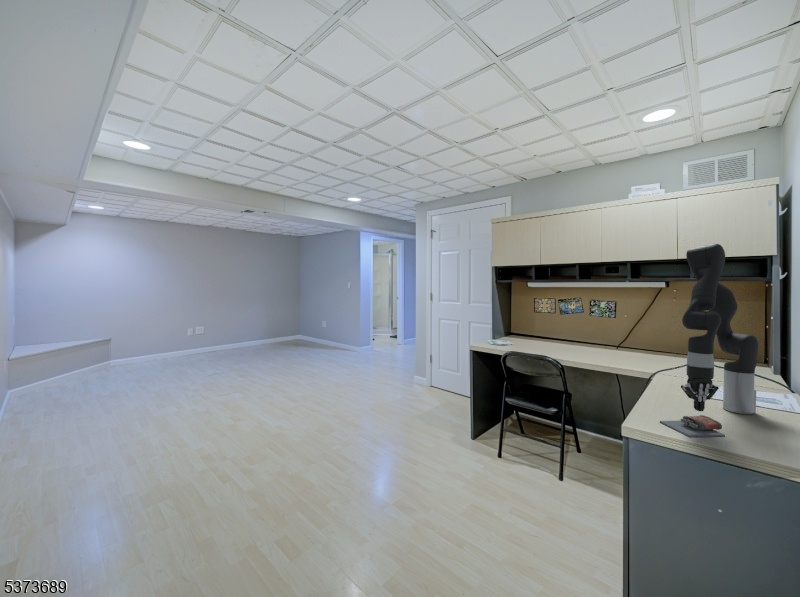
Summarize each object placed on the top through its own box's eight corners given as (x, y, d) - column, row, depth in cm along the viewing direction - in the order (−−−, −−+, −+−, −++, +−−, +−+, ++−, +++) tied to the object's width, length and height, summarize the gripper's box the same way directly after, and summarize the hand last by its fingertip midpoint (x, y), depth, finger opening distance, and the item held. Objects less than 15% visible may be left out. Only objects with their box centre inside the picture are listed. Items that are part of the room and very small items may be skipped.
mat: (691, 421, 131) (691, 420, 131) (724, 436, 118) (725, 434, 118) (659, 422, 130) (659, 420, 130) (689, 437, 117) (689, 435, 117)
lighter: (699, 421, 129) (676, 422, 128) (700, 413, 129) (677, 414, 128) (721, 431, 121) (696, 433, 120) (722, 422, 121) (697, 424, 120)
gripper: (707, 362, 128) (706, 406, 128) (674, 362, 127) (673, 407, 128) (727, 366, 120) (726, 414, 121) (692, 367, 120) (691, 414, 120)
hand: (698, 410), depth 124 cm, fingers closed
